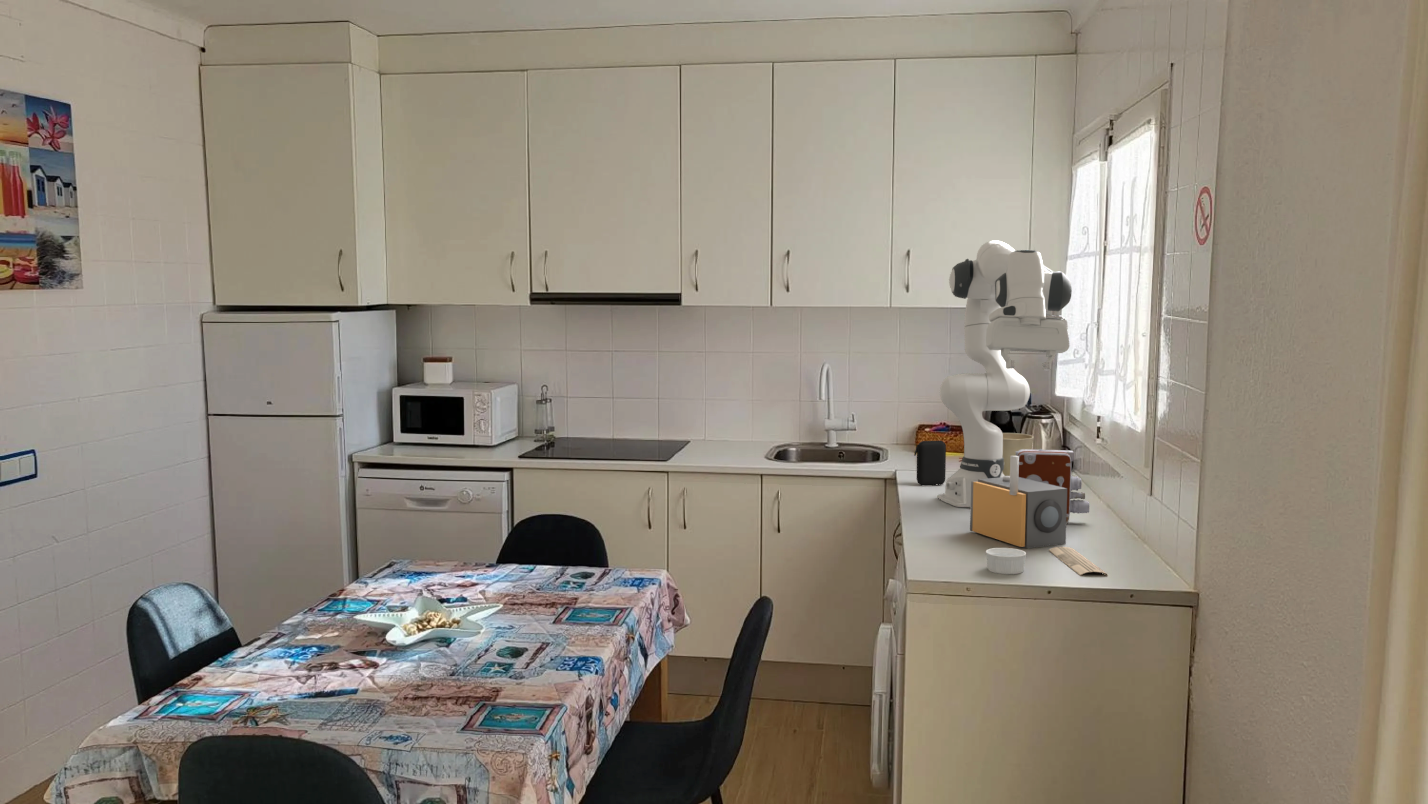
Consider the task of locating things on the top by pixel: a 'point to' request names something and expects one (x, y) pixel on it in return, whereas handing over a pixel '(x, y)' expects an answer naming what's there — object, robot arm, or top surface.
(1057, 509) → the box
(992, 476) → the robot arm
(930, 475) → the carrying case or bag
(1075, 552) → the newspaper
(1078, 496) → the cine camera
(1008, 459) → the plant pot
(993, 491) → the door
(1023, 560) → the ramekin
